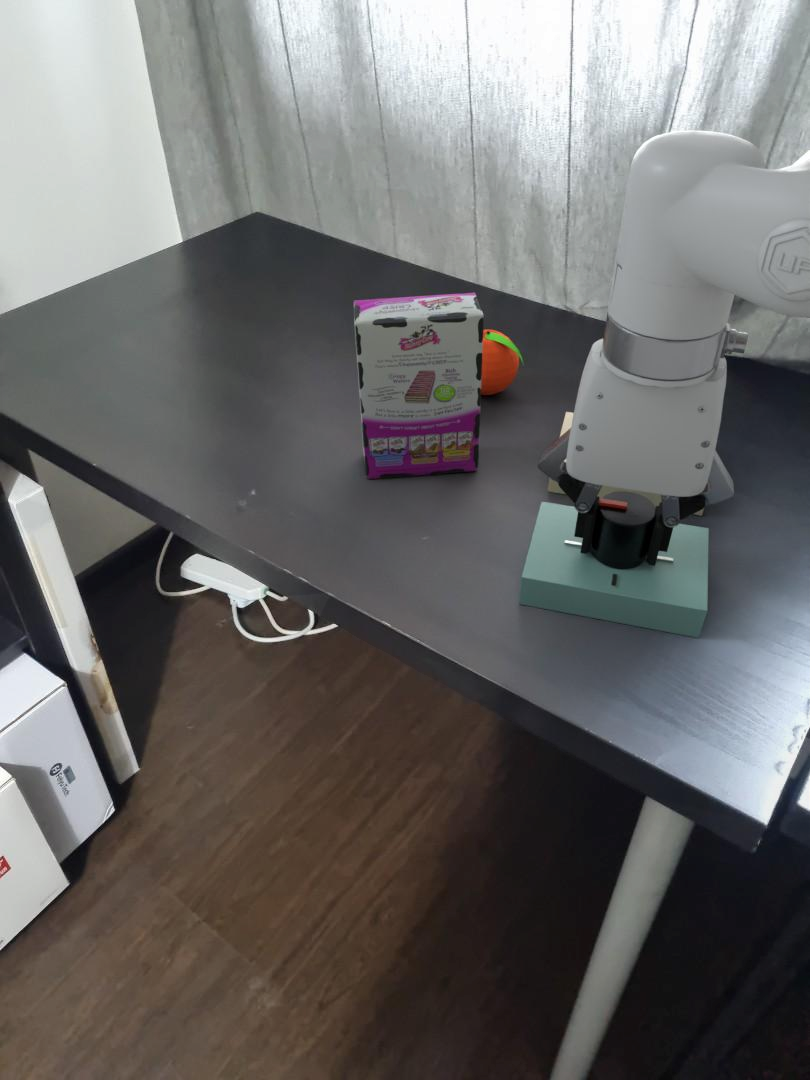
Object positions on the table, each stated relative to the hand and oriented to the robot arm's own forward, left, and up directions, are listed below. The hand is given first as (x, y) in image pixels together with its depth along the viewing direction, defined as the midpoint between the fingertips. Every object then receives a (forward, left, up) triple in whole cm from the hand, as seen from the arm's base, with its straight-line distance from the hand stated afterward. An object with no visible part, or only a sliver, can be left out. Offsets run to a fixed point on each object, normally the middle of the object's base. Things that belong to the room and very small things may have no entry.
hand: (619, 546), depth 66 cm
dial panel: (0, 0, -4) cm, 4 cm away
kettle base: (0, -16, -4) cm, 16 cm away
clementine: (+16, -27, -4) cm, 32 cm away
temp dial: (0, 0, 0) cm, 0 cm away
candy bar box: (+20, -12, -4) cm, 24 cm away
